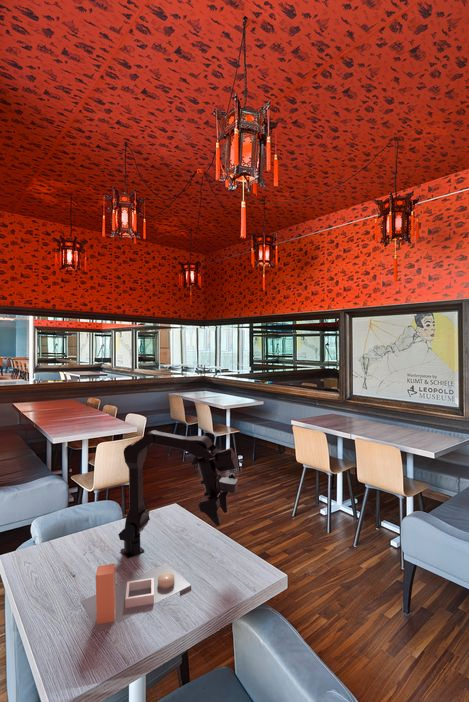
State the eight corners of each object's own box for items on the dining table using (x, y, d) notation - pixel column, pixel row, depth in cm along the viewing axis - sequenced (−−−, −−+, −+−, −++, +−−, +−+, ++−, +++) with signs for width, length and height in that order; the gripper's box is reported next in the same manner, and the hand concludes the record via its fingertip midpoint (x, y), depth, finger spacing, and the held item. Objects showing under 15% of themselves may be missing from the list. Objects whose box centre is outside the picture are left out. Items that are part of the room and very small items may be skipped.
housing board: (80, 604, 107) (80, 592, 107) (166, 565, 125) (166, 555, 125) (99, 636, 95) (98, 622, 95) (191, 588, 113) (190, 577, 113)
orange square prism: (99, 612, 102) (97, 566, 102) (115, 609, 103) (114, 563, 103) (96, 624, 98) (95, 575, 98) (114, 621, 99) (113, 573, 99)
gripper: (224, 479, 115) (238, 529, 114) (238, 460, 133) (250, 502, 132) (191, 486, 117) (205, 534, 117) (209, 466, 135) (221, 508, 135)
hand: (222, 518), depth 125 cm, fingers open, 9 cm apart
